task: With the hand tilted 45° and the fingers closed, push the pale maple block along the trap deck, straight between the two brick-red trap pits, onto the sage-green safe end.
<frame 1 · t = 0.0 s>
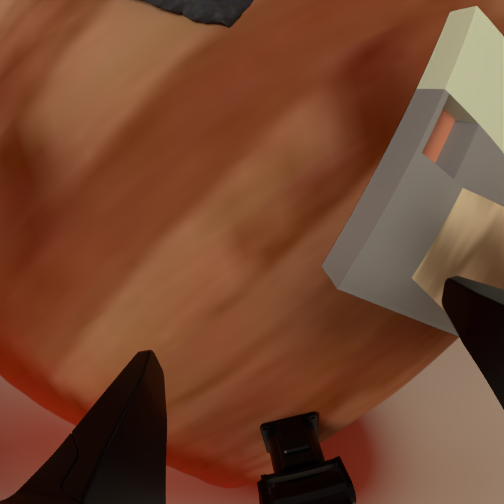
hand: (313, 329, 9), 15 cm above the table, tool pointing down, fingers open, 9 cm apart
trap deck: (438, 234, 25), on the table
maple block: (461, 250, 22), point 3 cm above the table, touching trap deck
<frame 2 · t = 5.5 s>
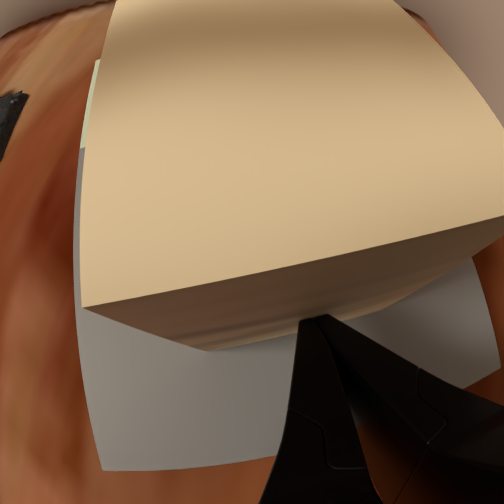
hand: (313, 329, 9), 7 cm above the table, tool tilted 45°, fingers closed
trap deck: (278, 291, 16), on the table
maple block: (273, 235, 13), point 4 cm above the table
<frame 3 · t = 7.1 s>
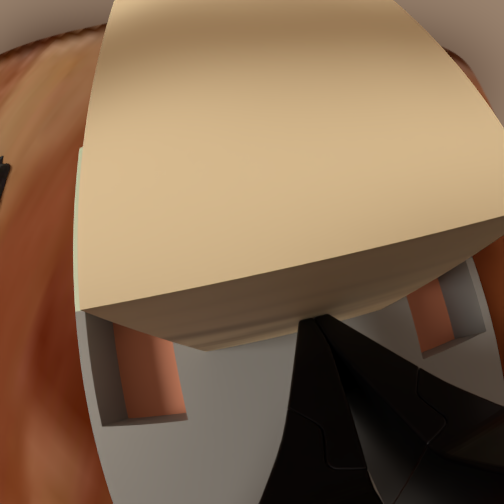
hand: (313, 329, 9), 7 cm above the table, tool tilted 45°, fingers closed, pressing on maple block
trap deck: (318, 463, 13), on the table
maple block: (273, 235, 13), point 4 cm above the table, touching gripper
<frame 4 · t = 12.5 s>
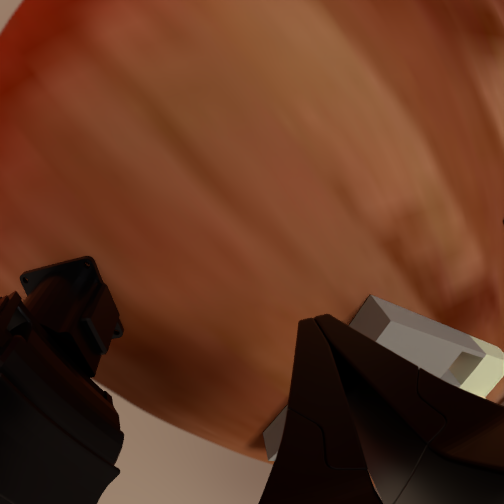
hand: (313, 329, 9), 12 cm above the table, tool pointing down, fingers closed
trap deck: (367, 387, 29), on the table
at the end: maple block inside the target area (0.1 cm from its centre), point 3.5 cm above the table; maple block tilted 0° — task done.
